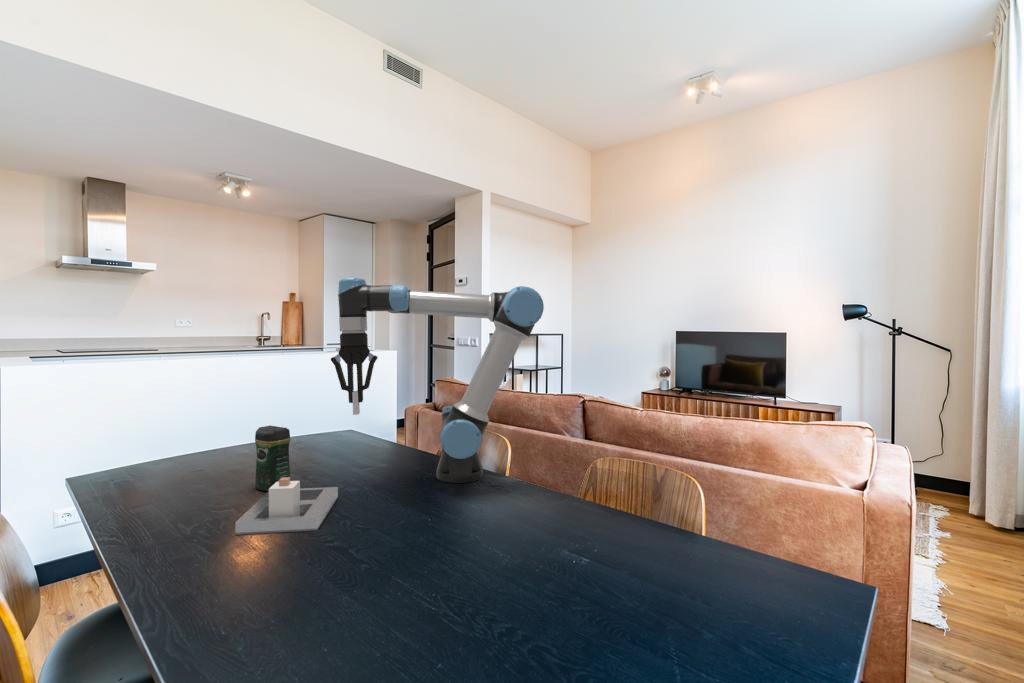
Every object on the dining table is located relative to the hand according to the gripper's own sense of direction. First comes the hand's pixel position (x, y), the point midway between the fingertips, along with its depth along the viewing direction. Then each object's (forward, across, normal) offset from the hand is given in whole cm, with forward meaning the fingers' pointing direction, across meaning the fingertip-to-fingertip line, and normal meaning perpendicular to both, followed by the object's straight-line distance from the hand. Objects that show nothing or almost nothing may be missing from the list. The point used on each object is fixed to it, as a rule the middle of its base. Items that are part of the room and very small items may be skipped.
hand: (356, 413), depth 135 cm
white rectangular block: (+22, +15, +18) cm, 33 cm away
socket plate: (+23, +15, +13) cm, 30 cm away
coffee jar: (+23, +26, -10) cm, 36 cm away
